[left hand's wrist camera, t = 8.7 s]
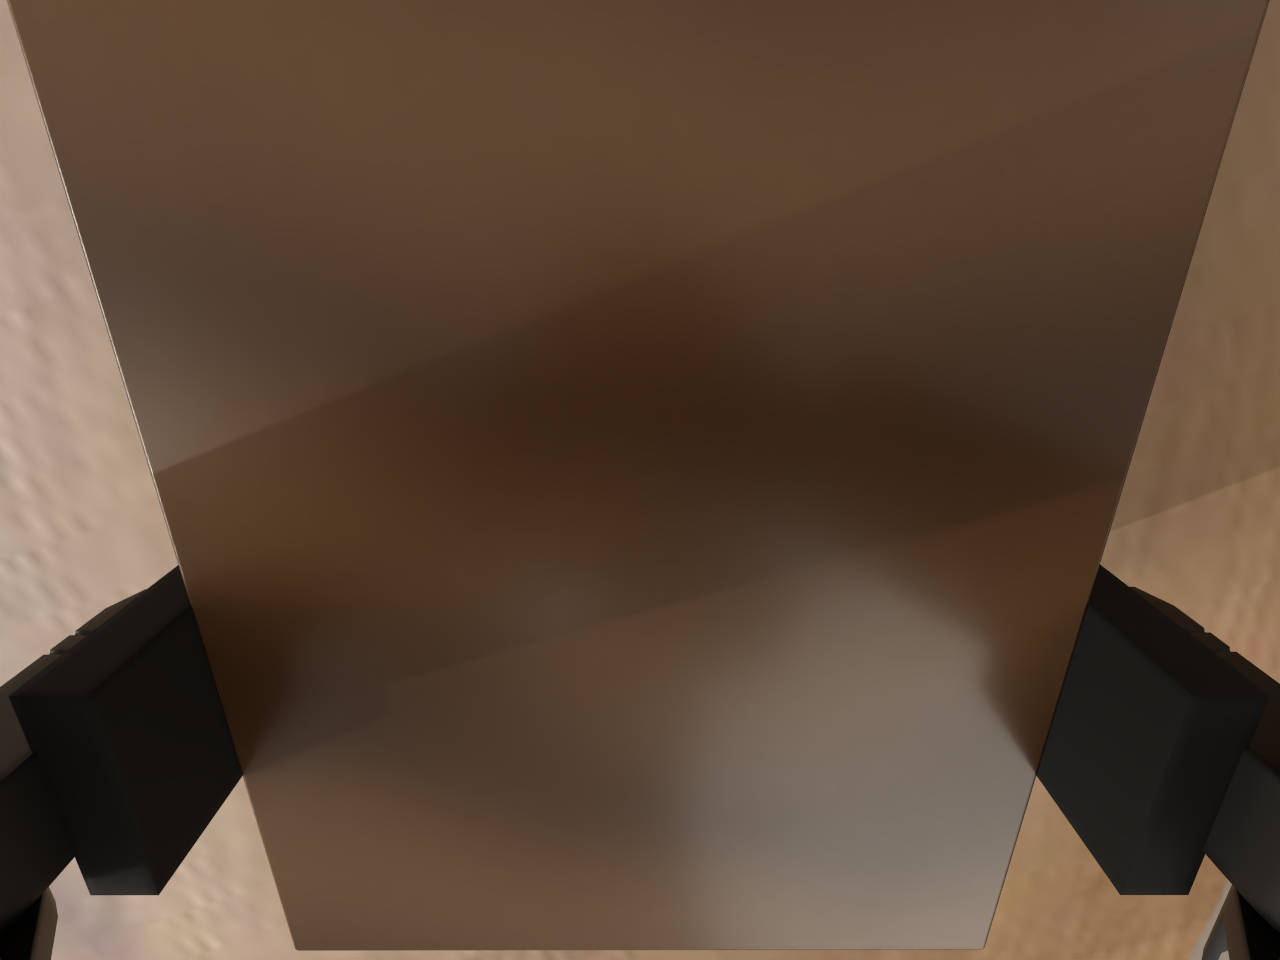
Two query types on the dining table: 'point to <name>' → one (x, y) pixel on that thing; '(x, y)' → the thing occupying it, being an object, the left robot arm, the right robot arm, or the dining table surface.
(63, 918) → the dining table surface
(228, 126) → the cabinet
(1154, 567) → the dining table surface
